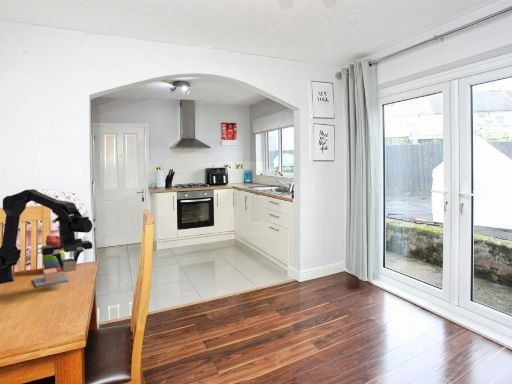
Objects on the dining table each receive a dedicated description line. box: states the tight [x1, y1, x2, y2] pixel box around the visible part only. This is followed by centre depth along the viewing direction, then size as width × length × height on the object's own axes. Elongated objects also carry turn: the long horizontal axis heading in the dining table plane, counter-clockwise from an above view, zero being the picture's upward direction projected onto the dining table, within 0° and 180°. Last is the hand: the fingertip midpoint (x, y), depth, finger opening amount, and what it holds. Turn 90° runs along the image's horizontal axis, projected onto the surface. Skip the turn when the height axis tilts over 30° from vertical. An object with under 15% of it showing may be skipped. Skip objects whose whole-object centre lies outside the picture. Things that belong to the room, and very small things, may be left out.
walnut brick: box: [60, 258, 77, 274], centre depth 138 cm, size 6×4×4 cm
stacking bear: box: [42, 235, 66, 273], centre depth 158 cm, size 11×10×18 cm
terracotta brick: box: [43, 268, 58, 282], centre depth 144 cm, size 6×4×4 cm
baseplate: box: [32, 272, 69, 289], centre depth 144 cm, size 12×12×1 cm
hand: (68, 266), depth 138 cm, fingers closed on walnut brick, 5 cm apart
